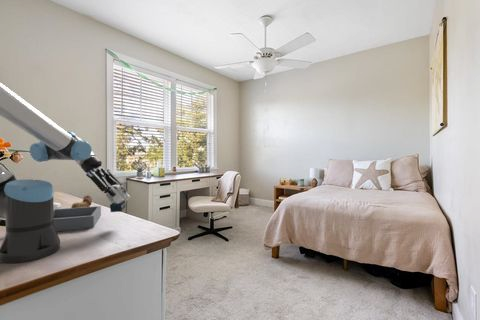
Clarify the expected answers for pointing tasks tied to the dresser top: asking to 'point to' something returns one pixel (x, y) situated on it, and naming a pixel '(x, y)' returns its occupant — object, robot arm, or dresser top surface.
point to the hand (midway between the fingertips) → (124, 199)
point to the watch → (115, 206)
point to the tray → (76, 218)
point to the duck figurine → (56, 205)
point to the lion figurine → (85, 203)
